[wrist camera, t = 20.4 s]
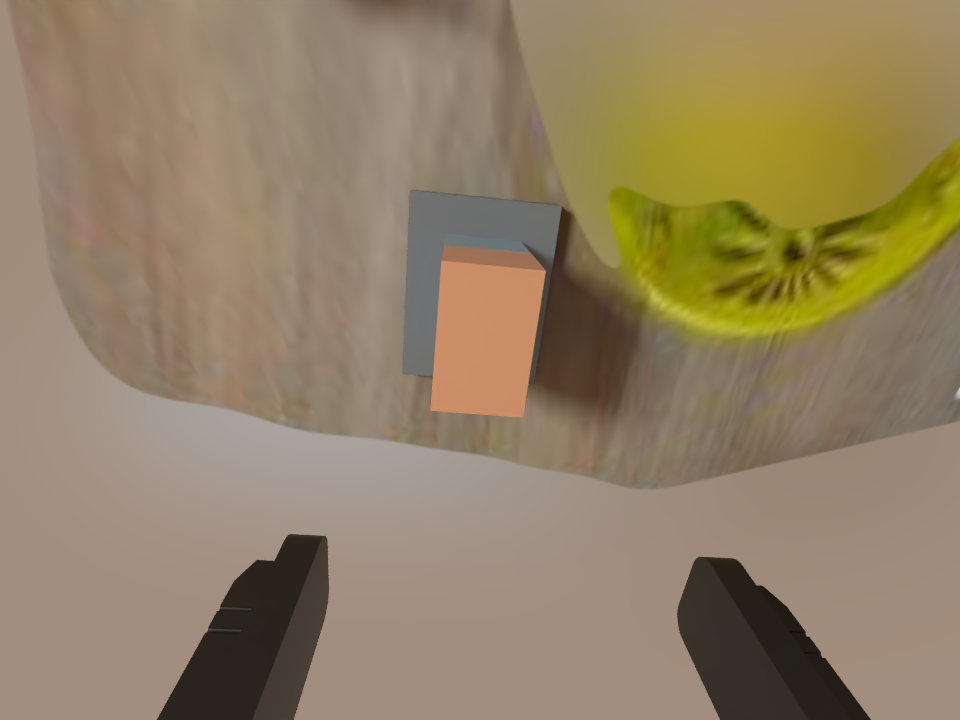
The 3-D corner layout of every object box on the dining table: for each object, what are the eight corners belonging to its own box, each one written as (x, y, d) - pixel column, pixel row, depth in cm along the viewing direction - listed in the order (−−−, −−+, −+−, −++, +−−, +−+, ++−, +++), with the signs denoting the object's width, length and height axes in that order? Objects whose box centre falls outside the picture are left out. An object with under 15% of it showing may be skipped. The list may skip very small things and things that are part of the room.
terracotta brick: (531, 253, 27) (545, 270, 22) (513, 379, 30) (522, 417, 25) (444, 244, 27) (441, 260, 22) (435, 372, 30) (430, 410, 25)
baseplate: (558, 204, 32) (562, 206, 31) (531, 377, 37) (534, 384, 36) (411, 189, 31) (409, 190, 30) (404, 367, 36) (402, 374, 35)
